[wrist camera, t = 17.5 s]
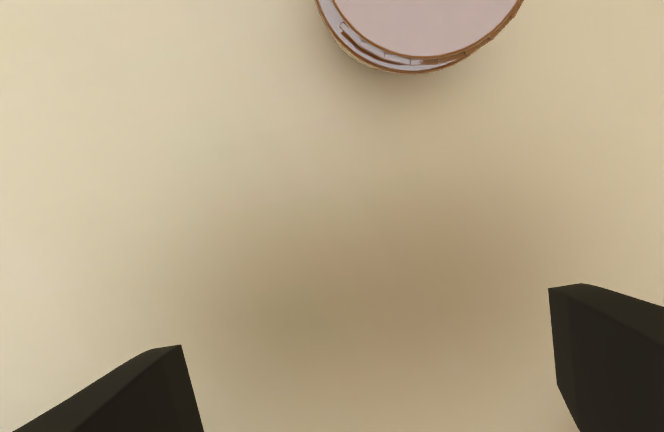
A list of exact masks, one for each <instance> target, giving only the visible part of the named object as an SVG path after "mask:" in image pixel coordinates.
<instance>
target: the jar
mask: <svg viewBox="0 0 664 432" xmlns="http://www.w3.org/2000/svg"><path fill="white" fill-rule="evenodd" d="M523 1H524V0H315V3H316V5H317V8H318V11H319V13H320V15H321V17H322V19H323V21H324V23H325V25H326V27H327V28H328V30H329V32H330V33H331V35H332V37H333V38H334V40H335V41H336V42H337V44H338V45H339V46H340V48H341V49H342V50H343V51H344V52H345V53H346V54H347V55H349V56H350V57H351V58H352V59H354V60H355V61H357V62H359V63H360V64H363V65H365V66H367V67H370V68H373V69H377V70H382V71H387V72H392V73H398V74H424V73H430V72H434V71H439V70H442V69H445V68H447V67H450V66H453V65H455V64H457V63H458V62H460V61H462V60H464V59H466V58H467V57H469V56H470V55H471V54H473V53H474V52H476V51H477V50H478V49H479V48H480V47H481V46H483V45H485V44H486V43H488V42H489V41H491V40H493V39H494V38H495V37H496V36H497V34H498V33H499V32H500V31H501V30H502V29H503V28H504V27H505V26H506V25H507V24H508V23H509V22H510V21H511V20H512V18H514V17H515V15H516V13H517V11H518V10H519V8H520V6H521V4H522V2H523Z"/></svg>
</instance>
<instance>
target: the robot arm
mask: <svg viewBox="0 0 664 432" xmlns="http://www.w3.org/2000/svg"><path fill="white" fill-rule="evenodd" d="M548 292H549V303H550V314H551V325H552V335H553V346H554V357H555V368H556V379H557V385H558V388H559V390H560V392H561V394H562V396H563V398H564V400H565V403H566V405H567V407H568V409H569V411H570V413H571V415H572V417H573V419H574V421H575V423H576V425H577V427H578V429H579V430H580V432H664V307H662V306H659V305H655V304H652V303H649V302H646V301H643V300H640V299H636V298H633V297H630V296H627V295H624V294H621V293H618V292H614V291H611V290H608V289H604V288H601V287H597V286H593V285H589V284H582V283H580V284H574V285H567V286H561V287H554V288H548ZM13 432H204V430H203V426H202V422H201V418H200V415H199V411H198V407H197V403H196V399H195V396H194V392H193V388H192V384H191V380H190V377H189V373H188V369H187V365H186V362H185V358H184V354H183V350H182V346H181V345H175V346H168V347H162V348H155V349H151V350H148V351H146V352H143V353H141V354H139V355H138V356H136V357H134V358H132V359H130V360H129V361H127V362H125V363H124V364H122V365H120V366H119V367H117V368H116V369H114V370H113V371H111V372H109V373H108V374H106V375H105V376H103V377H102V378H100V379H98V380H97V381H95V382H94V383H92V384H91V385H89V386H87V387H86V388H84V389H83V390H81V391H80V392H78V393H77V394H75V395H73V396H72V397H70V398H69V399H67V400H65V401H64V402H62V403H60V404H59V405H57V406H55V407H54V408H52V409H50V410H49V411H47V412H45V413H44V414H42V415H40V416H39V417H37V418H35V419H34V420H32V421H30V422H29V423H27V424H25V425H24V426H22V427H20V428H18V429H17V430H15V431H13Z"/></svg>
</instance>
